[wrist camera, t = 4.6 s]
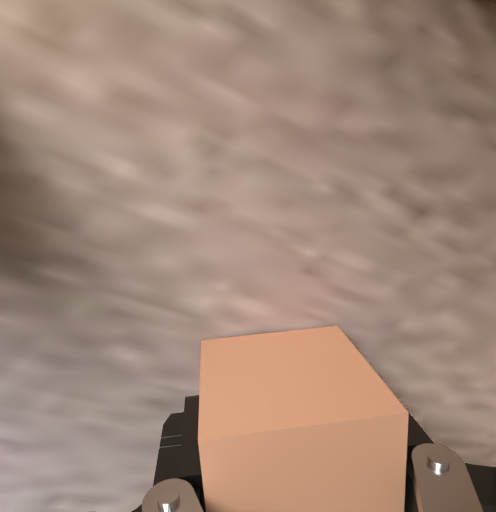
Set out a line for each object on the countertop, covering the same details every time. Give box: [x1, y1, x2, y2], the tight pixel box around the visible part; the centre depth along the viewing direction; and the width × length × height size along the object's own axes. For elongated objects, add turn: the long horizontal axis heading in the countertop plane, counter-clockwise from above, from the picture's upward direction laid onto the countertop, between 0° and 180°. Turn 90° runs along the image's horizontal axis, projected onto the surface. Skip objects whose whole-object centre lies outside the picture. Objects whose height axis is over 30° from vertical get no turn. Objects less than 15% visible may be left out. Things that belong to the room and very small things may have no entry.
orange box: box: [198, 326, 409, 512], centre depth 12 cm, size 7×5×5 cm
